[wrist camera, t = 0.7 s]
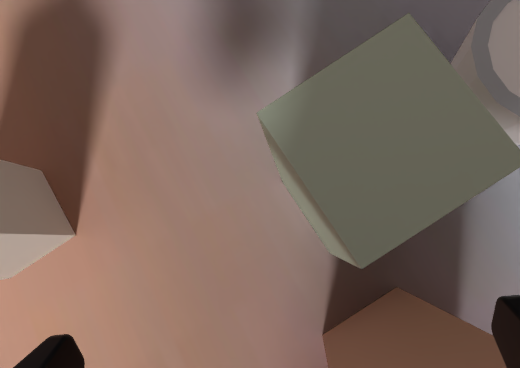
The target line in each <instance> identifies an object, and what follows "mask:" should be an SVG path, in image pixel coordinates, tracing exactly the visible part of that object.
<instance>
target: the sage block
mask: <svg viewBox="0 0 520 368" xmlns="http://www.w3.org/2000/svg"><path fill="white" fill-rule="evenodd" d="M257 116H258V118H259V121H260V124H261V126H262V129H263V132H264V134H265V137H266V140H267V142H268V145H269V148H270V150H271V153H272V155H273V158H274V161H275V163H276V166H277V169H278V171H279V174H280V177H281V179H282V182H283V184H284V185H285V187H286V188H287V190H288V191H289V193H290V194H291V196H292V197H293V199H294V200H295V202H296V203H297V205H298V206H299V208H300V209H301V211H302V212H303V214H304V215H305V217H306V218H307V220H308V221H309V223H310V224H311V226H312V227H313V229H314V230H315V232H316V233H317V235H318V236H319V238H320V239H321V241H322V242H323V244H324V245H325V247H326V248H327V250H328V251H329V253H331V254H333V255H335V256H337V257H338V258H340V259H342V260H344V261H346V262H348V263H350V264H352V265H354V266H356V267H358V268H360V269H363V268H365V267H366V266H368V265H369V264H371V263H372V262H374V261H375V260H377V259H378V258H380V257H382V256H383V255H385V254H386V253H388V252H389V251H391V250H392V249H394V248H395V247H397V246H399V245H400V244H402V243H403V242H405V241H406V240H408V239H409V238H411V237H413V236H414V235H416V234H417V233H419V232H420V231H422V230H423V229H425V228H426V227H428V226H430V225H431V224H433V223H434V222H436V221H437V220H439V219H440V218H442V217H444V216H445V215H447V214H448V213H450V212H451V211H453V210H454V209H456V208H457V207H459V206H461V205H462V204H464V203H465V202H467V201H468V200H470V199H471V198H473V197H474V196H476V195H478V194H479V193H481V192H482V191H484V190H485V189H487V188H488V187H490V186H492V185H493V184H495V183H496V182H498V181H499V180H501V179H502V178H504V177H505V176H507V175H509V174H510V173H512V172H513V171H515V170H516V169H518V168H519V167H520V149H519V148H518V147H517V146H516V144H515V143H514V142H513V141H512V139H511V138H510V137H509V136H508V134H507V133H506V132H505V131H504V130H503V128H502V127H501V126H500V125H499V123H498V122H497V121H496V120H495V118H494V117H493V116H492V115H491V113H490V112H489V111H488V110H487V109H486V107H485V106H484V105H483V104H482V102H481V101H480V100H479V99H478V97H477V96H476V95H475V94H474V92H473V91H472V90H471V89H470V88H469V86H468V85H467V84H466V83H465V81H464V80H463V79H462V78H461V76H460V75H459V74H458V73H457V72H456V70H455V69H454V68H453V67H452V65H451V64H450V63H449V62H448V60H447V59H446V58H445V57H444V55H443V54H442V53H441V52H440V51H439V49H438V48H437V47H436V46H435V44H434V43H433V42H432V41H431V39H430V38H429V37H428V36H427V34H426V33H425V32H424V31H423V30H422V28H421V27H420V26H419V25H418V23H417V22H416V21H415V20H414V18H413V17H412V16H411V15H410V13H408V14H406V15H405V16H403V17H402V18H400V19H399V20H397V21H396V22H394V23H393V24H391V25H390V26H388V27H387V28H385V29H384V30H382V31H380V32H379V33H377V34H376V35H374V36H373V37H371V38H370V39H368V40H367V41H365V42H364V43H362V44H361V45H359V46H358V47H356V48H355V49H353V50H352V51H350V52H349V53H347V54H345V55H344V56H342V57H341V58H339V59H338V60H336V61H335V62H333V63H332V64H330V65H329V66H327V67H326V68H324V69H323V70H321V71H320V72H318V73H317V74H315V75H314V76H312V77H310V78H309V79H307V80H306V81H304V82H303V83H301V84H300V85H298V86H297V87H295V88H294V89H292V90H291V91H289V92H288V93H286V94H285V95H283V96H282V97H280V98H279V99H277V100H275V101H274V102H272V103H271V104H269V105H268V106H266V107H265V108H263V109H262V110H260V111H259V112H257Z"/></svg>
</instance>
